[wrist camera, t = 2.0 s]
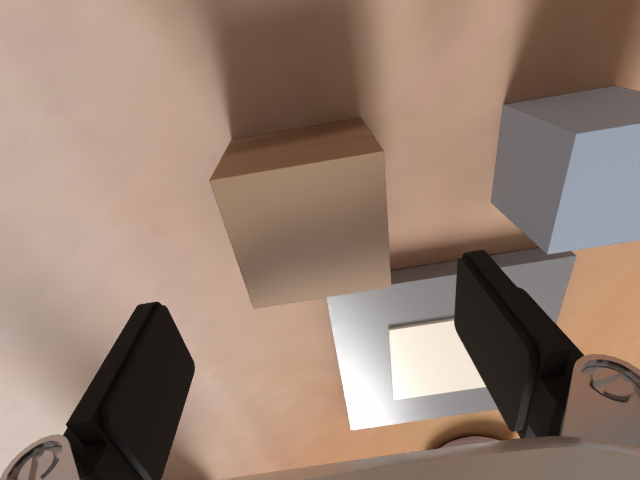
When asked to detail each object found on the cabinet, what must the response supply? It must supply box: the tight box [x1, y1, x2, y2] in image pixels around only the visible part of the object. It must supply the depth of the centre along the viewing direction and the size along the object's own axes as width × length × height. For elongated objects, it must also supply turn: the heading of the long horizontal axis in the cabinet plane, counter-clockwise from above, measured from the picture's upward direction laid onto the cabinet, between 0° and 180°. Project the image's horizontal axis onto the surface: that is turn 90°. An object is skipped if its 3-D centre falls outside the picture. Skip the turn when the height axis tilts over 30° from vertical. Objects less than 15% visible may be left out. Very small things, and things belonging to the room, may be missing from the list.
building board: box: [326, 248, 576, 430], centre depth 24 cm, size 14×14×1 cm
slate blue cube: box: [491, 86, 640, 255], centre depth 15 cm, size 5×5×5 cm
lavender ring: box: [441, 436, 499, 448], centre depth 32 cm, size 8×8×2 cm
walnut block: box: [209, 118, 391, 309], centre depth 16 cm, size 6×6×5 cm
